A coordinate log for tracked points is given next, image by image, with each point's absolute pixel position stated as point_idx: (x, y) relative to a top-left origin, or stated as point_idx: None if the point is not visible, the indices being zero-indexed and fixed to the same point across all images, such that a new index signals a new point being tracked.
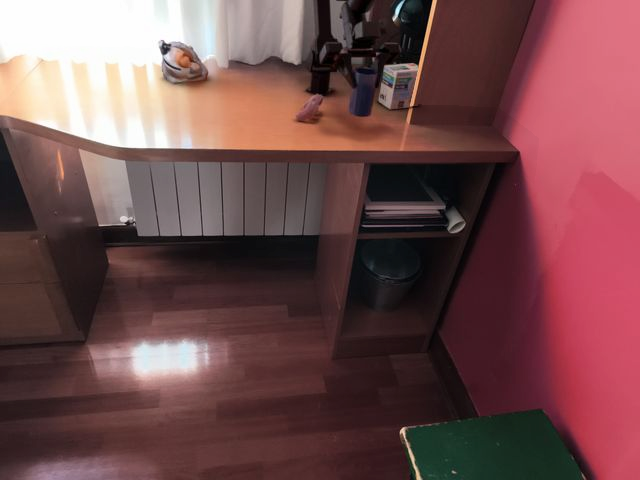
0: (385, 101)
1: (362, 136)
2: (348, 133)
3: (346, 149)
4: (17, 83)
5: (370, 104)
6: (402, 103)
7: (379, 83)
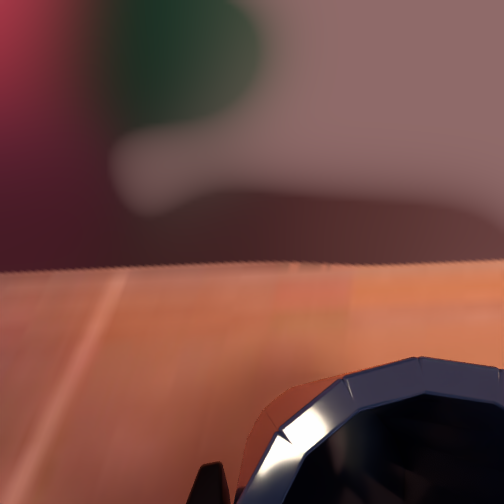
0: None
1: None
2: None
3: (378, 272)
4: None
5: (278, 399)
6: None
7: (191, 492)
